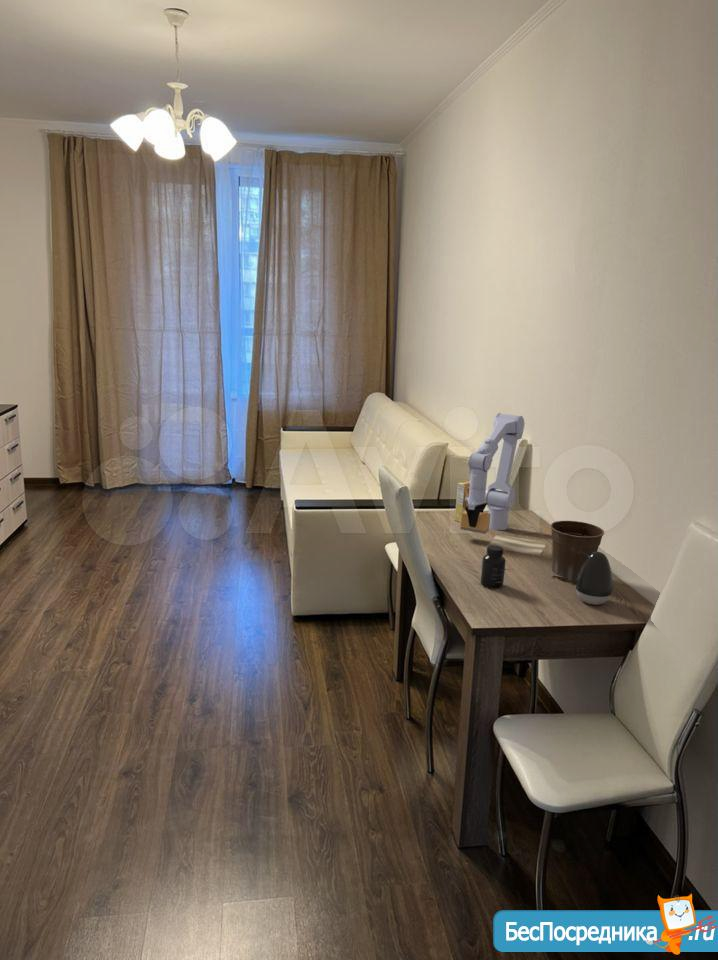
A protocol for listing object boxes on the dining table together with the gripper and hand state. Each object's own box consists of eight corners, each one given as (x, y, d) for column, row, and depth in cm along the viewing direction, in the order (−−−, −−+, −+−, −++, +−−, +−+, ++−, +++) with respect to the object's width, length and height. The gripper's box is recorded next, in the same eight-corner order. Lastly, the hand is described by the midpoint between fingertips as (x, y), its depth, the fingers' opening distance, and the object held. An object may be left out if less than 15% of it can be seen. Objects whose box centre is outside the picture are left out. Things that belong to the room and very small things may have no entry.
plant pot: (601, 588, 224) (607, 538, 220) (546, 583, 226) (552, 533, 223) (594, 570, 239) (600, 523, 236) (543, 565, 242) (548, 518, 238)
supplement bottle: (476, 582, 224) (479, 544, 222) (495, 580, 227) (498, 543, 224) (488, 590, 218) (491, 552, 215) (507, 588, 221) (511, 550, 218)
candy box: (469, 517, 294) (472, 479, 290) (477, 519, 291) (480, 482, 287) (454, 520, 288) (457, 482, 285) (462, 523, 285) (465, 484, 282)
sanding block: (464, 525, 263) (465, 509, 262) (488, 530, 260) (490, 513, 258) (460, 529, 259) (462, 513, 257) (485, 533, 255) (487, 517, 254)
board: (496, 538, 268) (496, 534, 268) (546, 546, 262) (547, 542, 261) (486, 550, 254) (486, 546, 254) (539, 559, 247) (539, 555, 247)
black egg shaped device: (577, 591, 221) (583, 543, 217) (613, 599, 216) (620, 550, 212) (569, 603, 212) (575, 553, 208) (606, 611, 207) (613, 560, 203)
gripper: (471, 481, 264) (468, 518, 267) (461, 490, 251) (458, 528, 254) (491, 484, 261) (487, 520, 264) (481, 493, 248) (478, 531, 251)
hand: (474, 524), depth 259 cm, fingers closed on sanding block, 5 cm apart
